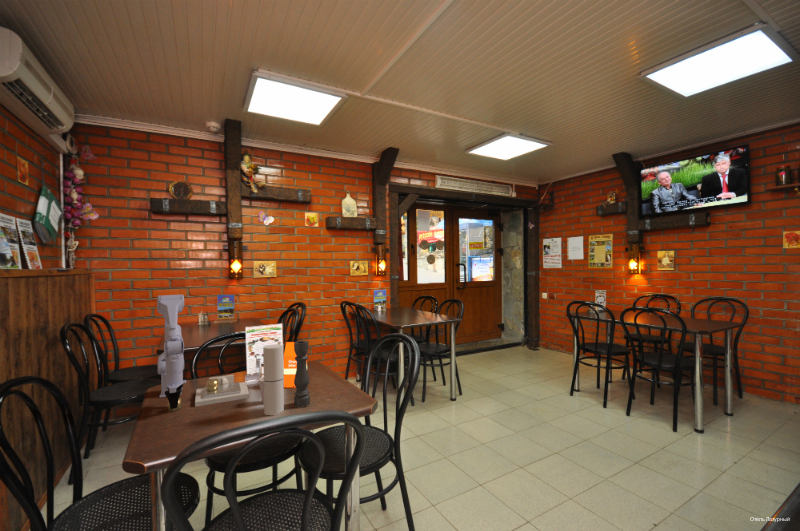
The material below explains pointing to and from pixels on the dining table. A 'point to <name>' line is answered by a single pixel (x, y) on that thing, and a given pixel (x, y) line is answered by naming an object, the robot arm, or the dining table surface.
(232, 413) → the dining table surface
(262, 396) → the smoothie
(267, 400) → the cylindrical container
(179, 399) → the brass weight
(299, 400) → the candle holder
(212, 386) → the brass weight
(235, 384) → the scale pan
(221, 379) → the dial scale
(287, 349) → the orange juice
